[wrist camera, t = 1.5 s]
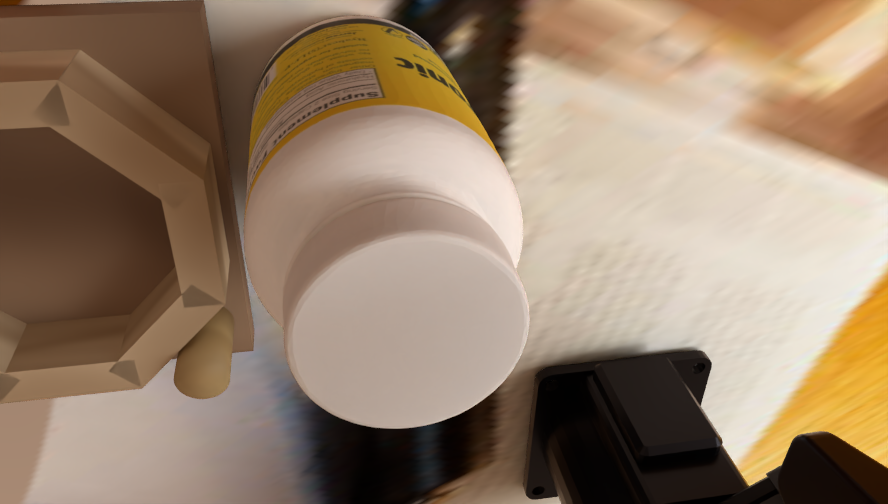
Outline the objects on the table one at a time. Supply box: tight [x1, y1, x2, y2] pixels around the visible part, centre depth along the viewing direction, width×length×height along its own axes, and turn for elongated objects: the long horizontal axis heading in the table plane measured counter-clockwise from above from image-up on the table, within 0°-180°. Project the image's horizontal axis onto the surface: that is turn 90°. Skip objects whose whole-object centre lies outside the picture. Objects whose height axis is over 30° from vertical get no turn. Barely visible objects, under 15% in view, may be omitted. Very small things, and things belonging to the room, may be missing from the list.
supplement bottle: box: [244, 15, 530, 429], centre depth 16 cm, size 5×5×10 cm
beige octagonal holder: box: [0, 0, 254, 404], centre depth 18 cm, size 10×9×3 cm
